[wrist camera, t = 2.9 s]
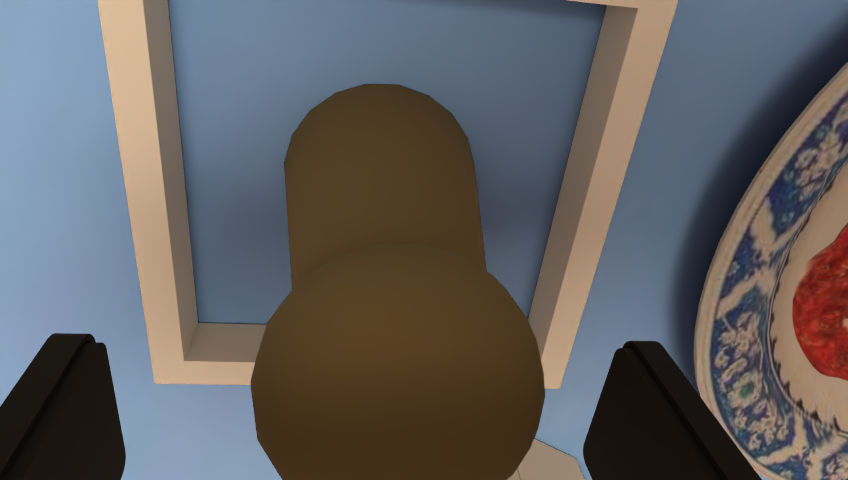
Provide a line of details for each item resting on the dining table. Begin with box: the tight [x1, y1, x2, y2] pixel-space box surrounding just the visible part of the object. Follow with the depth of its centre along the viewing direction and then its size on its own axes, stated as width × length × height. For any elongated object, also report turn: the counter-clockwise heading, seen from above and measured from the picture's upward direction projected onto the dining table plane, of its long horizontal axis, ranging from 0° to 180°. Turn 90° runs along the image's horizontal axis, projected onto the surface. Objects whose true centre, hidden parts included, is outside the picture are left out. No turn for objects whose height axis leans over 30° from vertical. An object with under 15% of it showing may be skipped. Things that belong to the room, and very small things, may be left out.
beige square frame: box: [97, 0, 679, 389], centre depth 18 cm, size 14×14×2 cm
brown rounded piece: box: [250, 84, 545, 480], centre depth 14 cm, size 6×6×11 cm
